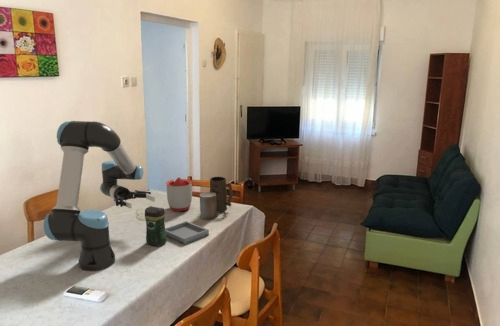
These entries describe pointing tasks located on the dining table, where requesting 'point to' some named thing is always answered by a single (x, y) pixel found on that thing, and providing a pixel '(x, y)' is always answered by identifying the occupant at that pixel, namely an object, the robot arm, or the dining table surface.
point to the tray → (186, 232)
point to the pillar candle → (208, 205)
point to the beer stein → (221, 192)
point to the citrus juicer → (179, 194)
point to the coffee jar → (155, 226)
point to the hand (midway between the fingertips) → (142, 202)
